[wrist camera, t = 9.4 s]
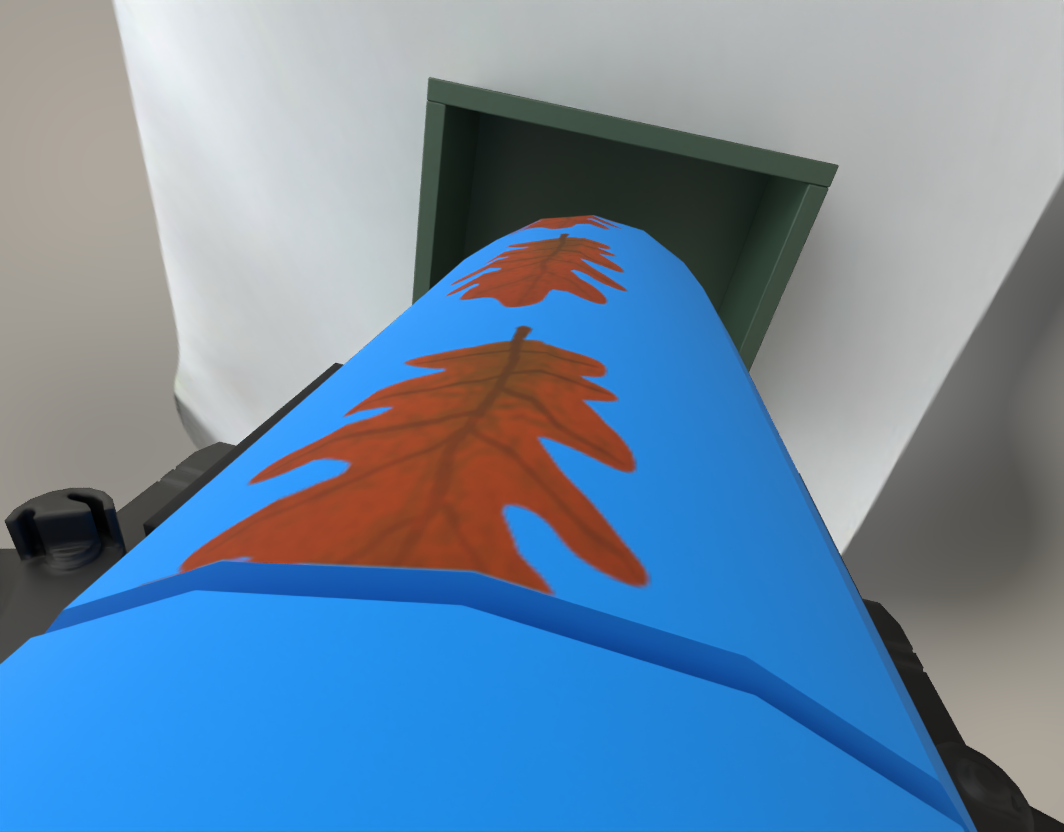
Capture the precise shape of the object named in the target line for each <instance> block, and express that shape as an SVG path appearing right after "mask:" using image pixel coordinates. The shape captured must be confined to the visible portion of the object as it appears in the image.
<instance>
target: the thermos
mask: <svg viewBox="0 0 1064 832" xmlns="http://www.w3.org/2000/svg"><path fill="white" fill-rule="evenodd" d="M0 832H977V830H976V828H975V826H974V824H973V822H972V820H971V818H970V816H969V814H968V812H967V810H966V808H965V806H964V804H963V802H962V800H961V798H960V796H959V794H958V792H957V790H956V788H955V786H954V784H953V782H952V780H951V778H950V776H949V774H948V772H947V770H946V768H945V766H944V764H943V762H942V760H941V758H940V756H939V754H938V752H937V750H936V748H935V746H934V744H933V742H932V740H931V738H930V736H929V734H928V732H927V730H926V728H925V726H924V724H923V722H922V720H921V718H920V716H919V714H918V711H917V709H916V707H915V705H914V703H913V701H912V699H911V697H910V695H909V693H908V691H907V689H906V687H905V685H904V683H903V681H902V679H901V677H900V675H899V673H898V671H897V669H896V667H895V665H894V663H893V661H892V659H891V657H890V655H889V653H888V651H887V649H886V647H885V645H884V643H883V641H882V639H881V637H880V635H879V633H878V631H877V629H876V627H875V625H874V623H873V621H872V619H871V617H870V615H869V613H868V611H867V609H866V607H865V605H864V603H863V601H862V599H861V597H860V595H859V593H858V591H857V589H856V587H855V585H854V583H853V581H852V579H851V577H850V575H849V573H848V571H847V569H846V567H845V565H844V563H843V561H842V559H841V557H840V555H839V553H838V551H837V549H836V547H835V545H834V543H833V541H832V539H831V537H830V535H829V533H828V531H827V529H826V527H825V525H824V523H823V521H822V519H821V517H820V515H819V513H818V511H817V509H816V507H815V505H814V503H813V501H812V499H811V497H810V495H809V493H808V491H807V489H806V487H805V485H804V483H803V481H802V479H801V477H800V475H799V473H798V471H797V469H796V467H795V465H794V463H793V461H792V459H791V457H790V455H789V453H788V451H787V449H786V447H785V445H784V443H783V441H782V439H781V437H780V435H779V433H778V431H777V429H776V427H775V425H774V423H773V421H772V419H771V417H770V415H769V413H768V411H767V409H766V407H765V405H764V403H763V401H762V399H761V397H760V395H759V393H758V391H757V389H756V387H755V385H754V383H753V381H752V379H751V377H750V375H749V373H748V371H747V369H746V367H745V365H744V363H743V361H742V359H741V357H740V355H739V353H738V351H737V349H736V347H735V345H734V343H733V341H732V339H731V337H730V335H729V334H728V332H727V330H726V328H725V326H724V325H723V323H722V321H721V319H720V317H719V316H718V314H717V312H716V310H715V309H714V307H713V305H712V303H711V301H710V300H709V298H708V296H707V294H706V292H705V291H704V289H703V287H702V286H701V285H700V283H699V282H698V281H697V279H696V278H695V277H694V276H693V274H692V273H691V272H690V270H689V269H688V268H687V266H686V265H685V264H684V262H682V261H681V260H680V259H679V258H677V257H676V256H675V255H674V254H672V253H671V252H670V251H669V250H667V249H666V248H665V247H664V246H662V245H661V244H660V243H658V242H657V241H656V240H655V239H653V238H652V237H651V236H650V235H648V234H647V233H646V232H645V231H643V230H640V229H637V228H633V227H630V226H627V225H624V224H620V223H617V222H614V221H611V220H607V219H604V218H601V217H597V216H594V215H589V216H575V217H561V218H547V219H540V220H538V221H536V222H534V223H532V224H529V225H527V226H525V227H523V228H521V229H519V230H517V231H515V232H513V233H510V234H508V235H506V236H504V237H502V238H500V239H498V240H496V241H494V242H492V243H491V244H489V245H488V246H486V247H484V248H483V249H481V250H479V251H478V252H476V253H474V254H473V255H471V256H469V257H468V258H466V259H465V260H463V261H462V262H461V263H460V264H459V265H458V266H457V267H455V268H454V269H453V270H452V271H451V272H450V273H449V274H447V275H446V276H445V277H444V278H443V279H442V280H441V281H439V282H438V283H437V284H436V285H435V286H434V287H433V288H431V289H430V290H429V291H428V292H427V293H426V294H425V295H423V296H422V297H421V298H420V299H419V300H418V301H416V302H415V303H414V304H413V305H412V306H411V307H410V308H408V309H407V310H406V311H405V312H404V313H403V314H402V315H400V316H399V317H398V318H397V319H396V320H395V321H394V322H392V323H391V324H390V325H389V326H388V327H387V328H386V329H384V330H383V331H382V332H381V333H380V334H379V335H377V336H376V337H375V338H374V339H373V340H372V341H371V342H369V343H368V344H367V345H366V346H365V347H364V348H363V349H361V350H360V351H359V352H358V353H357V354H356V355H355V356H353V357H352V358H351V359H350V360H349V361H348V362H347V363H345V364H344V365H343V366H342V367H341V368H340V369H339V370H337V371H336V372H335V373H334V374H333V375H332V376H330V377H329V378H328V379H327V380H326V381H325V382H324V383H322V384H321V385H320V386H319V387H318V388H317V389H316V390H314V391H313V392H312V393H311V394H310V395H309V396H308V397H306V398H305V399H304V400H303V401H302V402H301V403H300V404H298V405H297V406H296V407H295V408H294V409H293V410H291V411H290V412H289V413H288V414H287V415H286V416H285V417H283V418H282V419H281V420H280V421H279V422H278V423H277V424H275V425H274V426H273V427H272V428H271V429H270V430H269V431H267V432H266V433H265V434H264V435H263V436H262V437H261V438H259V439H258V440H257V441H256V442H255V443H254V444H253V445H251V446H250V447H249V448H248V449H247V450H246V451H244V452H243V453H242V454H241V455H240V456H239V457H238V458H236V459H235V460H234V461H233V462H232V463H231V464H230V465H228V466H227V467H226V468H225V469H224V470H223V471H222V472H220V473H219V474H218V475H217V476H216V477H215V478H214V479H212V480H211V481H210V482H209V483H208V484H207V485H205V486H204V487H203V488H202V489H201V490H200V491H199V492H197V493H196V494H195V495H194V496H193V497H192V498H191V499H189V500H188V501H187V502H186V503H185V504H184V505H183V506H181V507H180V508H179V509H178V510H177V511H176V512H175V513H173V514H172V515H171V516H170V517H169V518H168V519H167V520H165V521H164V522H163V523H162V524H161V525H160V526H158V527H157V528H156V529H155V530H154V531H153V532H152V533H150V534H149V535H148V536H147V537H146V538H145V539H144V540H142V541H141V542H140V543H139V544H138V545H137V546H136V547H134V548H133V549H132V550H131V551H130V552H129V553H128V554H126V555H125V556H124V557H123V558H122V559H121V560H119V561H118V562H117V563H116V564H115V565H114V566H113V567H111V568H110V569H109V570H108V571H107V572H106V573H105V574H103V575H102V576H101V577H100V578H99V579H98V580H97V581H95V582H94V583H93V584H92V585H91V586H90V587H89V588H87V589H86V590H85V591H84V592H83V593H82V594H81V595H79V596H78V597H77V598H76V599H75V600H74V601H72V602H71V603H70V604H69V605H68V606H67V607H66V608H64V609H63V610H62V611H61V613H60V614H59V615H58V617H57V618H56V619H55V621H54V622H53V623H52V625H51V626H50V627H49V628H48V630H47V631H46V632H45V634H43V635H39V636H36V637H33V638H30V639H29V640H28V641H27V642H25V643H24V644H23V645H22V646H21V647H20V648H19V649H17V650H16V651H15V652H14V653H13V654H12V655H11V656H9V657H8V658H7V659H6V660H5V661H4V662H3V663H1V664H0Z"/></svg>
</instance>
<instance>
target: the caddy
mask: <svg viewBox="0 0 1064 832" xmlns="http://www.w3.org/2000/svg"><path fill="white" fill-rule="evenodd" d="M427 100H428V101H427V105H426V119H425V133H424V147H423V161H422V175H421V188H420V202H419V216H418V230H417V244H416V258H415V272H414V286H413V299H412V305H413V304H414V303H415V302H416V301H418V300H419V299H420V298H421V297H422V296H423V295H425V294H426V293H427V292H428V291H429V290H430V289H431V288H433V287H434V286H435V285H436V284H437V283H438V282H439V281H441V280H442V279H443V278H444V277H445V276H446V275H447V274H449V273H450V272H451V271H452V270H453V269H454V268H455V267H457V266H458V265H459V264H460V263H461V262H462V261H463V260H465V259H466V258H468V257H469V256H471V255H473V254H474V253H476V252H478V251H479V250H481V249H483V248H484V247H486V246H488V245H489V244H491V243H492V242H494V241H496V240H498V239H500V238H502V237H504V236H506V235H508V234H510V233H513V232H515V231H517V230H519V229H521V228H523V227H525V226H527V225H529V224H532V223H534V222H536V221H538V220H540V219H547V218H561V217H575V216H589V215H594V216H597V217H601V218H604V219H607V220H611V221H614V222H617V223H620V224H624V225H627V226H630V227H633V228H637V229H640V230H643V231H645V232H646V233H647V234H648V235H650V236H651V237H652V238H653V239H655V240H656V241H657V242H658V243H660V244H661V245H662V246H664V247H665V248H666V249H667V250H669V251H670V252H671V253H672V254H674V255H675V256H676V257H677V258H679V259H680V260H681V261H682V262H684V264H685V265H686V266H687V268H688V269H689V270H690V272H691V273H692V274H693V276H694V277H695V278H696V279H697V281H698V282H699V283H700V285H701V286H702V287H703V289H704V291H705V292H706V294H707V296H708V298H709V300H710V301H711V303H712V305H713V307H714V309H715V310H716V312H717V314H718V316H719V317H720V319H721V321H722V323H723V325H724V326H725V328H726V330H727V332H728V334H729V335H730V337H731V339H732V341H733V343H734V345H735V347H736V349H737V351H738V353H739V355H740V357H741V359H742V361H743V363H744V365H745V367H746V369H747V371H748V373H749V370H750V368H751V366H752V363H753V361H754V359H755V357H756V354H757V352H758V350H759V347H760V345H761V343H762V340H763V338H764V336H765V334H766V331H767V329H768V327H769V324H770V322H771V320H772V318H773V315H774V313H775V311H776V308H777V306H778V304H779V301H780V299H781V297H782V295H783V292H784V290H785V288H786V285H787V283H788V281H789V279H790V276H791V274H792V272H793V269H794V267H795V265H796V262H797V260H798V258H799V256H800V253H801V251H802V249H803V246H804V244H805V242H806V240H807V237H808V235H809V233H810V230H811V228H812V226H813V223H814V221H815V219H816V217H817V214H818V212H819V210H820V207H821V205H822V203H823V201H824V198H825V196H826V194H827V191H828V188H827V187H830V185H831V183H832V181H833V178H834V176H835V174H836V171H837V169H838V165H836V164H831V163H826V162H822V161H817V160H813V159H808V158H803V157H799V156H794V155H789V154H785V153H780V152H775V151H771V150H766V149H762V148H757V147H752V146H748V145H743V144H738V143H734V142H729V141H724V140H720V139H715V138H710V137H706V136H701V135H696V134H692V133H687V132H682V131H678V130H673V129H669V128H664V127H659V126H655V125H650V124H645V123H641V122H636V121H631V120H627V119H622V118H617V117H613V116H608V115H603V114H599V113H594V112H589V111H585V110H580V109H576V108H571V107H566V106H562V105H557V104H552V103H548V102H543V101H538V100H534V99H529V98H524V97H520V96H515V95H510V94H506V93H501V92H496V91H492V90H487V89H483V88H478V87H473V86H469V85H464V84H459V83H455V82H450V81H445V80H441V79H436V78H431V77H429V79H428V92H427Z"/></svg>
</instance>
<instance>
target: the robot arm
mask: <svg viewBox="0 0 1064 832" xmlns="http://www.w3.org/2000/svg"><path fill="white" fill-rule="evenodd" d="M342 366H343V364H339V363H335V364H333V365H332V366H331V367H330V368H329V369H327V370H326V371H325V372H324V373H323V374H321V375H320V376H319V377H318V378H317V379H316V380H314V381H313V382H312V383H311V384H310V385H308V386H307V387H306V388H305V389H304V390H302V391H301V392H300V393H299V394H298V395H296V396H295V397H294V398H293V399H292V400H290V401H289V402H288V403H287V404H286V405H284V406H283V407H282V408H281V409H280V410H278V411H277V412H276V413H275V414H274V415H273V416H271V417H270V418H269V419H268V420H267V421H265V422H264V423H263V424H262V425H261V426H259V427H258V428H257V429H256V430H255V431H253V432H252V433H251V434H250V435H249V436H247V437H246V438H245V439H244V440H243V441H241V442H240V443H239V444H238V445H237V446H235V445H231V444H227V443H223V442H218V443H216V444H213V445H211V446H208V447H206V448H204V449H201V450H199V451H196V452H194V453H193V454H192V455H191V456H189V457H188V458H187V459H185V460H184V461H183V462H181V463H180V464H179V465H178V466H176V469H175V470H174V469H173V470H171V471H170V472H168V473H167V474H166V475H165V476H163V477H162V478H161V480H160V482H156V483H154V484H153V485H152V486H150V487H149V488H148V489H146V490H145V491H144V492H142V493H141V494H140V495H139V496H137V497H136V498H135V499H133V500H132V501H131V502H130V503H128V504H127V505H126V506H124V507H123V508H122V509H120V510H119V511H118V512H117V513H116V510H115V507H114V503H113V499H112V498H111V497H110V496H109V495H107V494H106V493H105V492H103V491H100V490H95V489H92V488H68V489H63V490H57V491H52V492H49V493H46V494H43V495H41V496H38V497H35V498H33V499H30V500H29V501H27V502H25V503H24V504H22V505H21V506H19V507H17V508H16V509H14V510H13V512H12V513H11V514H10V515H9V516H8V517H7V519H6V520H5V523H6V526H7V528H8V530H9V533H10V535H11V537H12V540H13V542H14V545H15V547H16V549H0V664H1V663H3V662H4V661H5V660H6V659H7V658H8V657H9V656H11V655H12V654H13V653H14V652H15V651H16V650H17V649H19V648H20V647H21V646H22V645H23V644H24V643H25V642H27V641H28V640H29V639H30V638H33V637H36V636H39V635H43V634H45V632H46V631H47V630H48V628H49V627H50V626H51V625H52V623H53V622H54V621H55V619H56V618H57V617H58V615H59V614H60V613H61V611H62V610H63V609H64V608H66V607H67V606H68V605H69V604H70V603H71V602H72V601H74V600H75V599H76V598H77V597H78V596H79V595H81V594H82V593H83V592H84V591H85V590H86V589H87V588H89V587H90V586H91V585H92V584H93V583H94V582H95V581H97V580H98V579H99V578H100V577H101V576H102V575H103V574H105V573H106V572H107V571H108V570H109V569H110V568H111V567H113V566H114V565H115V564H116V563H117V562H118V561H119V560H121V559H122V558H123V557H124V556H125V555H126V554H128V553H129V552H130V551H131V550H132V549H133V548H134V547H136V546H137V545H138V544H139V543H140V542H141V541H142V540H144V539H145V538H146V537H147V536H148V535H149V534H150V533H152V532H153V531H154V530H155V529H156V528H157V527H158V526H160V525H161V524H162V523H163V522H164V521H165V520H167V519H168V518H169V517H170V516H171V515H172V514H173V513H175V512H176V511H177V510H178V509H179V508H180V507H181V506H183V505H184V504H185V503H186V502H187V501H188V500H189V499H191V498H192V497H193V496H194V495H195V494H196V493H197V492H199V491H200V490H201V489H202V488H203V487H204V486H205V485H207V484H208V483H209V482H210V481H211V480H212V479H214V478H215V477H216V476H217V475H218V474H219V473H220V472H222V471H223V470H224V469H225V468H226V467H227V466H228V465H230V464H231V463H232V462H233V461H234V460H235V459H236V458H238V457H239V456H240V455H241V454H242V453H243V452H244V451H246V450H247V449H248V448H249V447H250V446H251V445H253V444H254V443H255V442H256V441H257V440H258V439H259V438H261V437H262V436H263V435H264V434H265V433H266V432H267V431H269V430H270V429H271V428H272V427H273V426H274V425H275V424H277V423H278V422H279V421H280V420H281V419H282V418H283V417H285V416H286V415H287V414H288V413H289V412H290V411H291V410H293V409H294V408H295V407H296V406H297V405H298V404H300V403H301V402H302V401H303V400H304V399H305V398H306V397H308V396H309V395H310V394H311V393H312V392H313V391H314V390H316V389H317V388H318V387H319V386H320V385H321V384H322V383H324V382H325V381H326V380H327V379H328V378H329V377H330V376H332V375H333V374H334V373H335V372H336V371H337V370H339V369H340V368H341V367H342ZM799 475H800V473H799ZM800 477H801V475H800ZM801 479H802V477H801ZM802 481H803V479H802ZM803 483H804V481H803ZM804 485H805V483H804ZM805 487H806V485H805ZM806 489H807V487H806ZM807 491H808V489H807ZM808 493H809V491H808ZM809 495H810V493H809ZM810 497H811V495H810ZM811 499H812V497H811ZM812 501H813V499H812ZM813 503H814V501H813ZM814 505H815V503H814ZM815 507H816V505H815ZM816 509H817V507H816ZM817 511H818V509H817ZM818 513H819V511H818ZM819 515H820V513H819ZM820 517H821V515H820ZM821 519H822V517H821ZM822 521H823V519H822ZM823 523H824V521H823ZM824 525H825V523H824ZM825 527H826V525H825ZM826 529H827V527H826ZM827 531H828V529H827ZM828 533H829V531H828ZM829 535H830V533H829ZM830 537H831V535H830ZM831 539H832V537H831ZM832 541H833V539H832ZM833 543H834V541H833ZM834 545H835V543H834ZM835 547H836V545H835ZM836 549H837V547H836ZM837 551H838V549H837ZM838 553H839V551H838ZM839 555H840V553H839ZM840 557H841V555H840ZM841 559H842V557H841ZM842 561H843V559H842ZM843 563H844V561H843ZM844 565H845V564H844ZM845 567H846V566H845ZM846 569H847V568H846ZM847 571H848V569H847ZM848 573H849V572H848ZM849 575H850V574H849ZM850 577H851V575H850ZM851 579H852V577H851ZM852 581H853V580H852ZM853 583H854V581H853ZM854 585H855V583H854ZM855 587H856V585H855ZM856 589H857V587H856ZM857 591H858V589H857ZM858 593H859V591H858ZM859 595H860V593H859ZM860 597H861V595H860ZM861 599H862V597H861ZM862 601H863V603H864V605H865V607H866V609H867V611H868V613H869V615H870V617H871V619H872V621H873V623H874V625H875V627H876V629H877V631H878V633H879V635H880V637H881V639H882V641H883V643H884V645H885V647H886V649H887V651H888V653H889V655H890V657H891V659H892V661H893V663H894V665H895V667H896V669H897V671H898V673H899V675H900V677H901V679H902V681H903V683H904V685H905V687H906V689H907V691H908V693H909V695H910V697H911V699H912V701H913V703H914V705H915V707H916V709H917V711H918V714H919V716H920V718H921V720H922V722H923V724H924V726H925V728H926V730H927V732H928V734H929V736H930V738H931V740H932V742H933V744H934V746H935V748H936V750H937V752H938V754H939V756H940V758H941V760H942V762H943V764H944V766H945V768H946V770H947V772H948V774H949V776H950V778H951V780H952V782H953V784H954V786H955V788H956V790H957V792H958V794H959V796H960V798H961V800H962V802H963V804H964V806H965V808H966V810H967V812H968V814H969V816H970V818H971V820H972V822H973V824H974V826H975V828H976V830H977V832H1064V824H1063V823H1061V822H1059V821H1057V820H1056V819H1054V818H1052V817H1050V816H1048V815H1046V814H1044V813H1042V812H1041V811H1039V810H1037V809H1035V808H1033V807H1031V806H1029V804H1028V802H1027V800H1026V799H1025V797H1024V795H1023V794H1022V792H1021V791H1020V789H1019V787H1018V786H1017V785H1016V784H1015V783H1014V782H1013V781H1012V780H1011V779H1010V777H1009V776H1008V775H1007V774H1006V773H1005V772H1004V771H1003V770H1002V769H1001V768H1000V767H999V766H997V765H996V764H995V763H994V762H992V761H991V760H990V759H989V758H987V757H986V756H985V755H983V754H981V753H980V752H977V751H976V750H974V749H972V748H970V747H968V746H966V744H965V742H964V741H963V739H962V737H961V735H960V734H959V731H958V730H957V728H956V726H955V724H954V723H953V721H952V719H951V717H950V715H949V713H948V711H947V710H946V708H945V706H944V704H943V703H942V700H941V699H940V697H939V695H938V693H937V691H936V690H935V688H934V686H933V684H932V682H931V681H930V679H929V677H928V675H927V673H926V672H923V666H922V664H921V662H920V660H919V659H918V657H917V655H916V653H913V652H912V650H913V648H912V646H911V644H910V642H909V640H908V639H907V637H906V635H905V633H904V631H903V629H902V628H901V626H900V625H899V623H898V622H897V621H896V620H895V619H894V618H893V617H892V616H891V615H890V614H889V613H888V612H887V610H886V609H885V608H884V607H883V606H882V605H881V604H880V603H878V602H874V601H870V600H865V599H862Z"/></svg>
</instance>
